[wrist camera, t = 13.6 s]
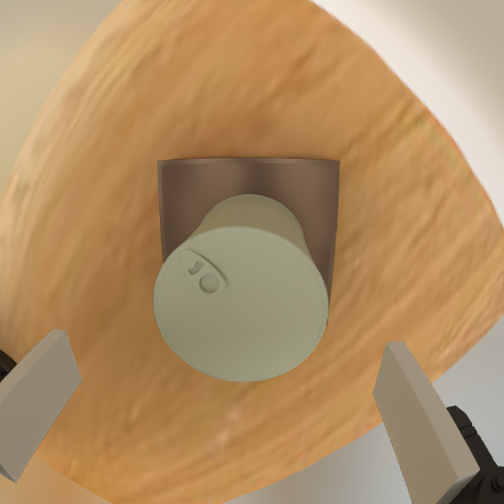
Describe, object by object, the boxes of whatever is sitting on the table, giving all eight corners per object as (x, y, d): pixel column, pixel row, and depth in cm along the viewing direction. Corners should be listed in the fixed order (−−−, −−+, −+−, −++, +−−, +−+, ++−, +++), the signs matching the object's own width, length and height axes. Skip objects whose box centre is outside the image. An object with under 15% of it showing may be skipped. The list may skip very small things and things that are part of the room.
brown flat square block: (179, 303, 33) (169, 322, 29) (171, 159, 29) (157, 161, 25) (320, 306, 33) (327, 325, 29) (329, 159, 28) (339, 161, 24)
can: (258, 170, 25) (252, 185, 13) (325, 257, 27) (364, 331, 15) (174, 240, 27) (115, 301, 15) (242, 316, 29) (229, 410, 17)
